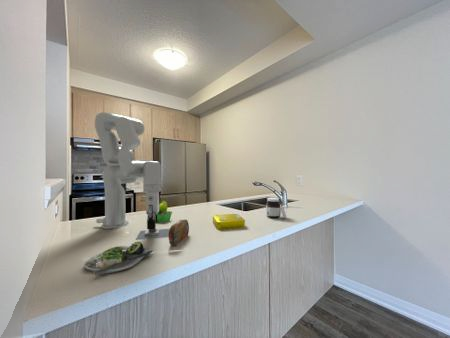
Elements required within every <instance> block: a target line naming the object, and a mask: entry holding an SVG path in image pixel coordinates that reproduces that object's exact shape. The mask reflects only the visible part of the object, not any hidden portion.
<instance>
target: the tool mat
mask: <svg viewBox="0 0 450 338" xmlns="http://www.w3.org/2000/svg"><path fill="white" fill-rule="evenodd" d="M146 230H147V229H146ZM146 230H140V231H139V233H138V235H137V236H136V237H135V240H137V241H138V240H139V241H140V240H147V239H148V240H150V239H161V238H163V239H164V238H169V230H170V228H160V232H159V235H154V236H145V232H146Z"/></svg>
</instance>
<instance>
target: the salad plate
mask: <svg viewBox="0 0 450 338" xmlns="http://www.w3.org/2000/svg"><path fill="white" fill-rule="evenodd" d="M152 253H153V250H148V248H145V247H144V244H143V243H142V242H141V241H134V242H133V243H131V245H129V246H127V245H120V246H119V245H118V246H114V247H109V248H108V249H105V250H104V251H101V252H100V253H99V254H96V255H95V256H93V257H91V258H89V259H88V260H87V261H85V262H84V265H83V266H84V269H85V270H87V271H89V272H91V273H93V275H95V276H99V275H104V274H112V273H117V272H121V271H122V272H123V271H125V270H128V269H131V268H133V267H134V266H136V265H137V264H138V263H140V262H142V260H143V259H145V258H146V257H147V256H149V255H150V254H152ZM101 260H102V262H103V265H104V266H99V267H98V266H97V264H98V262H100V261H101ZM96 263H97V264H96Z"/></svg>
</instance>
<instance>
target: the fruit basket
mask: <svg viewBox="0 0 450 338" xmlns="http://www.w3.org/2000/svg"><path fill="white" fill-rule="evenodd" d="M172 214H173V211H168V203H167V202H166V201H165V200H162V201H161V202H159V212H158V214H157V223H166V222H169V221H171V217H172Z"/></svg>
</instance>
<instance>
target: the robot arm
mask: <svg viewBox="0 0 450 338" xmlns="http://www.w3.org/2000/svg"><path fill="white" fill-rule="evenodd" d="M94 129H95V132H96V134H97V136H98V139H99V142H100V149H101V154H102V155H101V156H102V159H103V162H104V163H105V164H107V165H113V166H108V167H106V168H103V171H102V174H101V175H102V180H103V181H102V182H103V185H104V217H103V218H96V220H95V221H96V223H97V224H101V228H102V229H103V230H104V229H105V230H113V229H116V228H122V227H125V226H128V225H129V223H130V222H129V220H126V190H125V188H124V187H123V186H122V184H123V185H124V184H132V183H135V182H136V181H137V180H138V178H142V179H143V181H142V183H143V189H142V191H143V193H145V214H146V215H147V218H146V219H147V220H146V230H149V229H155V220H154V217H155V213H156V224H157V223H158V222H157V214H158V212H159V204H160V192H161V191H162V181H161V179H162V176H161V175H162V166H161V162H159V161H154V160H153V161H152V160H149V161H147V160H144V161H142V160H136V156H135V153H134V152H133V150H135V149H137V148H138V147H139V146H140V145H141V140H140V138H139V136H142V135H143V134H144V132H145V125H144V123H143V122H142V121H141V120H139V119H136V118H133V117H132V118H131V117H128V116H124V115H120V114H116V113H112V112H108V111H107V112H104V111H103V112H99V113H98V114H96V116H95V119H94ZM112 130H113V131H116V133H117V136H118V137H117V136H116V134H115V133H114V132H113V131H112ZM118 138H119V139H118ZM119 140H120V143H121V146H120V144H119Z"/></svg>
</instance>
